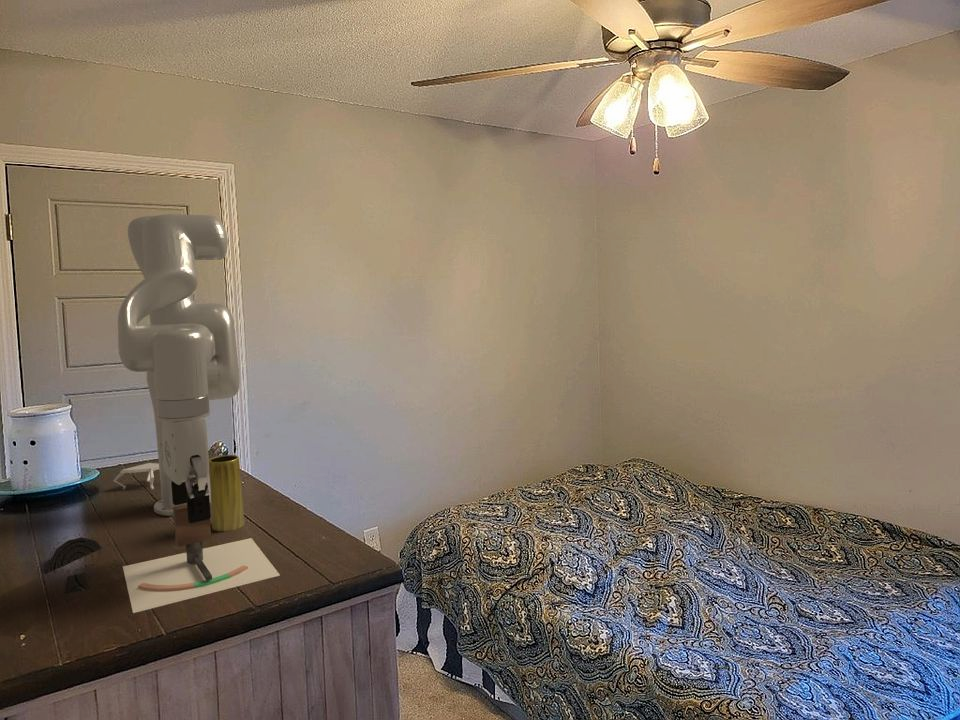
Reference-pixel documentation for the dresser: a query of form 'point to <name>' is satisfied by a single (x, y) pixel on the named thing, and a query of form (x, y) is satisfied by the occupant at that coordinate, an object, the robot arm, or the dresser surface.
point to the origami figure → (140, 468)
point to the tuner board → (195, 574)
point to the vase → (226, 493)
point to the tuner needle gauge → (192, 537)
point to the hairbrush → (73, 559)
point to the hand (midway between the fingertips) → (191, 511)
